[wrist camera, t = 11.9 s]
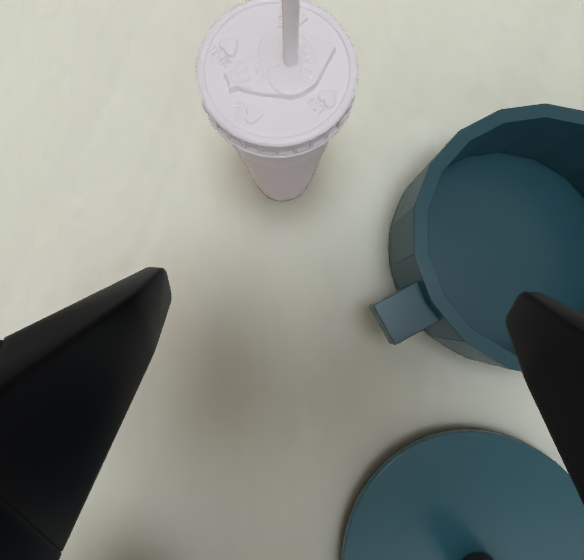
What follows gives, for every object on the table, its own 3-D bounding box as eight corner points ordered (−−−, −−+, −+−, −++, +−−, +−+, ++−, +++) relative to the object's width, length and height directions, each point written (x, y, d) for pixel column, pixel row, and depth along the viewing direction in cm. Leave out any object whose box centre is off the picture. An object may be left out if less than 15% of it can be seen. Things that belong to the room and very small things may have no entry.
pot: (685, 277, 21) (789, 267, 17) (424, 426, 20) (462, 458, 16) (564, 94, 23) (631, 40, 18) (313, 225, 22) (319, 203, 17)
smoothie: (343, 203, 22) (435, 10, 8) (252, 233, 22) (184, 89, 8) (311, 117, 22) (345, -200, 9) (223, 146, 22) (110, -133, 8)
